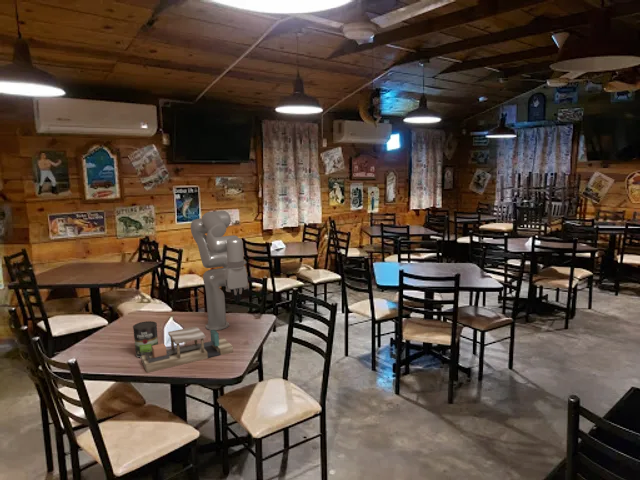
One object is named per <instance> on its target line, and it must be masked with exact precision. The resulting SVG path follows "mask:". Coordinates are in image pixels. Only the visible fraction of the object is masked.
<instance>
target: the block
mask: <svg viewBox="0 0 640 480" xmlns="http://www.w3.org/2000/svg"><path fill="white" fill-rule="evenodd" d="M166 350H167V346H166V345H165V343H164V342H163V343H158V345H153V346H152V354H153V358H154V357H159V356H163V355H167V353H166Z"/></svg>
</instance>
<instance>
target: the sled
mask: <svg viewBox="0 0 640 480" xmlns="http://www.w3.org/2000/svg"><path fill="white" fill-rule="evenodd" d="M209 331H210V332H209V333H210V340H209V341H206V342H205V341H204V347H207V346H212V345H214V346H219V337H220V336H219V331H218V330H209ZM191 345H192V344H191ZM186 346H187V347H183V346H181V347H182V348H180V353H181V352H185V351H189V350H194V349H198V348H201V343H200V344H196V345H192V346H188V345H186ZM168 350H169V349H168ZM166 353H167V355H163V356H159V357H154V358H150V357H149V356H151V355H153V354H152V351H151V352H146V353H145V356H146V358H147V360H148V362H149V363H150V362H155V361H159V360H163V359H168V358H170V357H169V355H172V354H176V353H177V349H173V350H169V351H166Z"/></svg>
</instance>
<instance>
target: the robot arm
mask: <svg viewBox="0 0 640 480" xmlns="http://www.w3.org/2000/svg"><path fill="white" fill-rule="evenodd" d="M231 221H232V218H231V215H230V214H229V212H227V211H226V210H216V211H215V210H214V211H213V210H212V211H208V212H205V213H204V214H203V215H202V217H201V218H195V219H194V220H192V221H191V222H190V231H191V236H192V239H193V240H194V241H195V243H196V245H197V247H198V252H199V256H200V260H201V263H202V266H203V267H204V268H205V269H208V270H206V271H204V273H203V274H202V278H203V279H202V280H203V284H204V289H205V296H206V311H207V313H206V314H207V323H206V324H205V329H206V330H209V331H210V330H216V331H220V330H221V331H222V330H224V329H227V328H228V327H229V326H230V323H229V321H227V315H226V314H227V313H226V300H225V299H226V297H225V293H224V291H223V290H222V289H221V287H225V291H226V292H228V293H232V294H233V301H234V302H235V303H236V304H240V303H241V301H242V293H244V291H245V290H247V289H249V286H248V285H249V280H248V274H247V268H246V266H245V265H247V260H244V243H243V242H244V241H243V240H242V238H240V237H239V236H238V235H225V233H227V228H228V227H229V226H230V224H231ZM224 235H225V236H224Z"/></svg>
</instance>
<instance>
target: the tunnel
mask: <svg viewBox="0 0 640 480" xmlns="http://www.w3.org/2000/svg"><path fill="white" fill-rule="evenodd" d="M167 333H168V336H169V337H170V346H171V348H169V349H166V351H169V350H173V349H177V353H176V354H172V355H169V357H170V358H168V359H163V360H159V361H155V362H150V363H149V362H148V360H147V358H146V356H145V355H142V356H141V358H140V360H141V364H142V363H143V364H142V366H143V368H144V369H145V372H146V373H147V374H149V373H152V372H156V371H160V370H165V369H169V368H173V367H176V366H177V367H178V366H181V365H185V364H190V363H193V362H198V361H203V360H206V359H211V358H216V357H219V356H223V355H227V354H232V353H234V346H233V345H232V344H231V343H230V342H229V341H228V340H227V339H226V338H225V337H220V338H219V346H214V345H212V346H207V347H204V343H205V341H204V339H206V334H205V333H204V332H203V331H202V330H201V329H200V328H199V327H198V326H196V325H195V326H191V327H186V328H181V329H177V330H172V331H168V332H167ZM198 340H200V342H198ZM192 341H194V343H193V344H188V345H183V346H180V344H183V343H187V342H192ZM196 344H201V348H198V349H194V350H189V351H185V352H181V353H180V348H182V347H187V346H192V345H196ZM175 345H176V347H175ZM149 357H150V358H153V355H151V356H149Z"/></svg>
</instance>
